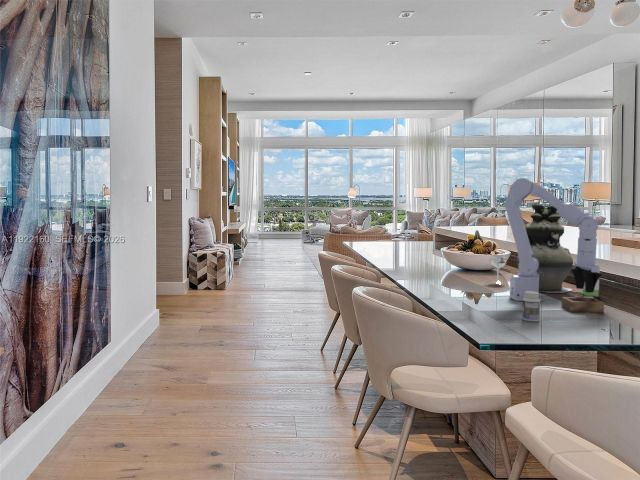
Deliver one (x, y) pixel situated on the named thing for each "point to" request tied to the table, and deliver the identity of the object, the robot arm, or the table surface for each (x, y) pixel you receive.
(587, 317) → the table surface
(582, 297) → the lid
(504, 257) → the wineglass
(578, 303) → the box
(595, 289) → the ink box
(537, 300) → the pill bottle
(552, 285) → the decorative urn
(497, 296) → the table surface
